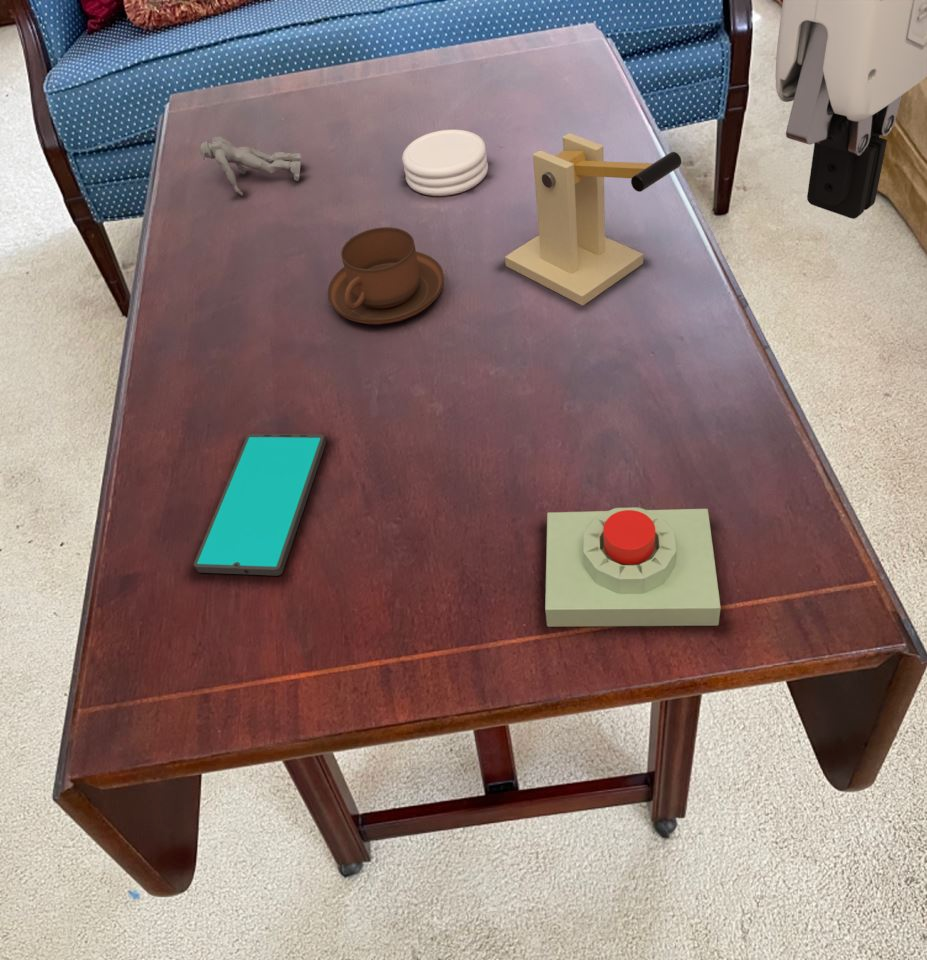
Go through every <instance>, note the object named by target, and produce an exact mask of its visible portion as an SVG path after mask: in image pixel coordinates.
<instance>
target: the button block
mask: <svg viewBox="0 0 927 960" xmlns="http://www.w3.org/2000/svg"><path fill="white" fill-rule="evenodd" d="M624 510H634V511H639V512H641V513H644V514H645V515H647V516H648V517H649V518H650V519H651V520H652V521H653V523H654V525H655V548H654V551H653V553H652V555H651V556H650V557H649V558H648V559H647V560H645V561H643V562H641V563H638V564H631V565H629V564H622V563H619V562H616V561H614V560H613V559H611V558H610V557H609V556H608V555H607V553H606V552H605V549H604V538H603V527H604V524H605V522H606V520H607V519H608V518H609V517H610V516H611V515H613V514H615V513H617V512H619V511H624ZM546 516H547V517H546V553H545V554H546V555H545V556H546V557H545V563H546V564H545V597H544V598H545V599H544V601H545V602H544V610H545V621H546V626H547V627H549V628H552V627H554V628H556V627H557V628H559V627H560V628H561V627H562V628H563V627H566V628H568V627H569V628H570V627H694V626H695V627H703V626H705V627H710V626H715V627H716V626H719V625H720V617H721V598H720V592H719V591H720V590H719V584H718V577H717V576H718V575H717V569H716V568H717V567H716V561H715V553H714V544H713V537H712V529H711V522H710V515H709V509H708V508H680V509H679V508H678V509H677V508H676V509H645V508H642V507H638V506H636V507H634V506H633V507H614V508H612V509H610V510H598V511H597V510H595V511H593V510H592V511H557V512H555V511H553V512H550V511H549V512H547V513H546Z"/></svg>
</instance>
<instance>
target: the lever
mask: <svg viewBox="0 0 927 960" xmlns="http://www.w3.org/2000/svg"><path fill="white" fill-rule="evenodd" d="M554 156H556V157H558V158H561V159H563V160H566V161H568V162H571V163H573V164H574V180H575V184H576V183H578V182H579V181H581V180H582V179H584V178H586V177H587V176H597V177H604V178H613V179H614V178H615V179H616V178H617V179H630V184H631V187H632V188H633V190H634V191H636V192H639V193H640V192H643V191H645V190H646V189H648V188H649V187H650V186H652V185H654V184H655V183H657V182H658V181H660V180H662V179H663V178H665V177H666V176H667V175H669V174H671V173H672V172H673V171H676V170H677V169H678V168H680V167H681V165H682V158H681V156H680V155H679V153H678V152H676V151H670V152H669V153H667V154H666V155H665V156H663V157H661V158H660V159H658V160H656V161H655V162H653V163H651V162H629V161H628V162H627V161H605V160H604V161H586V158H585V154H584V151H563V150H562V151H560V152H559V153H557V154H556V155H554Z"/></svg>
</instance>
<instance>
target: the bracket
mask: <svg viewBox="0 0 927 960" xmlns="http://www.w3.org/2000/svg"><path fill="white" fill-rule="evenodd" d="M562 151H584V154H585V158H586V161H605V159H604V157H605V155H604V145H603V144H600V143H597V142H595V141H592V140H590V139H587V138H585V137H582V136H579V135H576V134H574V133H571V132H569V133H567V134H565V135H563V136H562ZM532 159H533V160H532V162H533V172H534V173H533V174H534V175H533V176H534V187H535V189H534V190H535V202H536V213H537V226H538V235H537V236H535V237H533V238H532V239H530V240H528V241H526V242H525V243H524V244H522V245H521V246H519V247H518V248H516V249H515V250H513V251H511V252H510V253H508V254H507V255H505V256H504V262H505V266H506V267H507V268H509V269H511V270H513V271H515V272H517V273H518V274H520V275H522V276H524V277H526V278H528V279H529V280H532V281H533V282H536V283H537V284H540V285H541V286H543V287H545V288H548V289H549V290H551V291H553V292H555V293H557V294H559V295H561V296H562V297H565V298H566V299H569V300H570V301H572V302H574V303H576V304H578V305H579V306H585V305H586V304H588V303H589V302H590V301H592V300H593V299H595V298H596V297H597V296H599V295H600V294H602V293H603V292H605V291H606V290H607V289H609V288H610V287H612V286H613V285H615V284H616V283H618V282H619V281H620V280H622V279H623V278H624V277H626V276H627V275H630V274H631V273H632V272H633V271H635V270H636V269H638V268H639V267H641V266H642V265H643V264H644V254H643V253H642V252H640V251H637V250H635V249H634V248H631V247H629V246H626V245H624V244H623V243H620V242H618V241H616V240H613V239H611V238H609V237H608V236H607V237H606V218H605V217H606V215H605V177H597V176H587V177H586V178H584V179H582V180H581V181H579V182H578V183H576V184H575V180H574V164H573V163H571V162H568V161H566V160H563V159H561V158H558V157H556V156H555V155H553V154H551V153H549V152H546V151H543V150H538V151H536V152H534V153H533V154H532Z"/></svg>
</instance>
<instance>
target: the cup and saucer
mask: <svg viewBox="0 0 927 960" xmlns="http://www.w3.org/2000/svg"><path fill="white" fill-rule="evenodd" d="M340 252H341V253H340V257H341V260H342V264H343V267H342V268H341V269H340V270H338V272H337V273H336V274H335V275H333V277H332V279H331V281H330V282H329V285H328V287H327V298H328V301H329V303H330V306H331V307H332V308H333V310H334V311H335V312H336V313H337V314H338V315H340V316H341V317H343V318H345V319H346V320H350V321H352V322H355V323H359V324H364V325H387V324H392V323H398V322H401V321H405V320H407V319H410V318H412V317H414V316H416V315H418V314H419V313H421V312H423V311H424V310H426V309H427V308H428V307H429V306H431V305H432V304H433V302H435V301H436V300H437V298H438V297H439V295H440V294H441V292H442V289H443V287H444V281H445V273H444V270H443V268H442V266H441V265H440V263H439V262H438V261H437V260H436V259H435V258H433V257H432V256H429V255H428V254H426V253H423V252H420V251H417V250H416V244H415V239H414V238H413V236H412V235H411V233H409V232H408V231H406V230H404V229H401V228H397V227H390V226H389V227H388V226H387V227H386V226H384V227H383V226H382V227H376V228H370V229H367V230H364V231H362V232H359V233H357V234H355V235H354V236H352V237H351V238H350V239H348V240H347V241H346V242H345V244H344V245H343V247H341V251H340Z"/></svg>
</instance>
